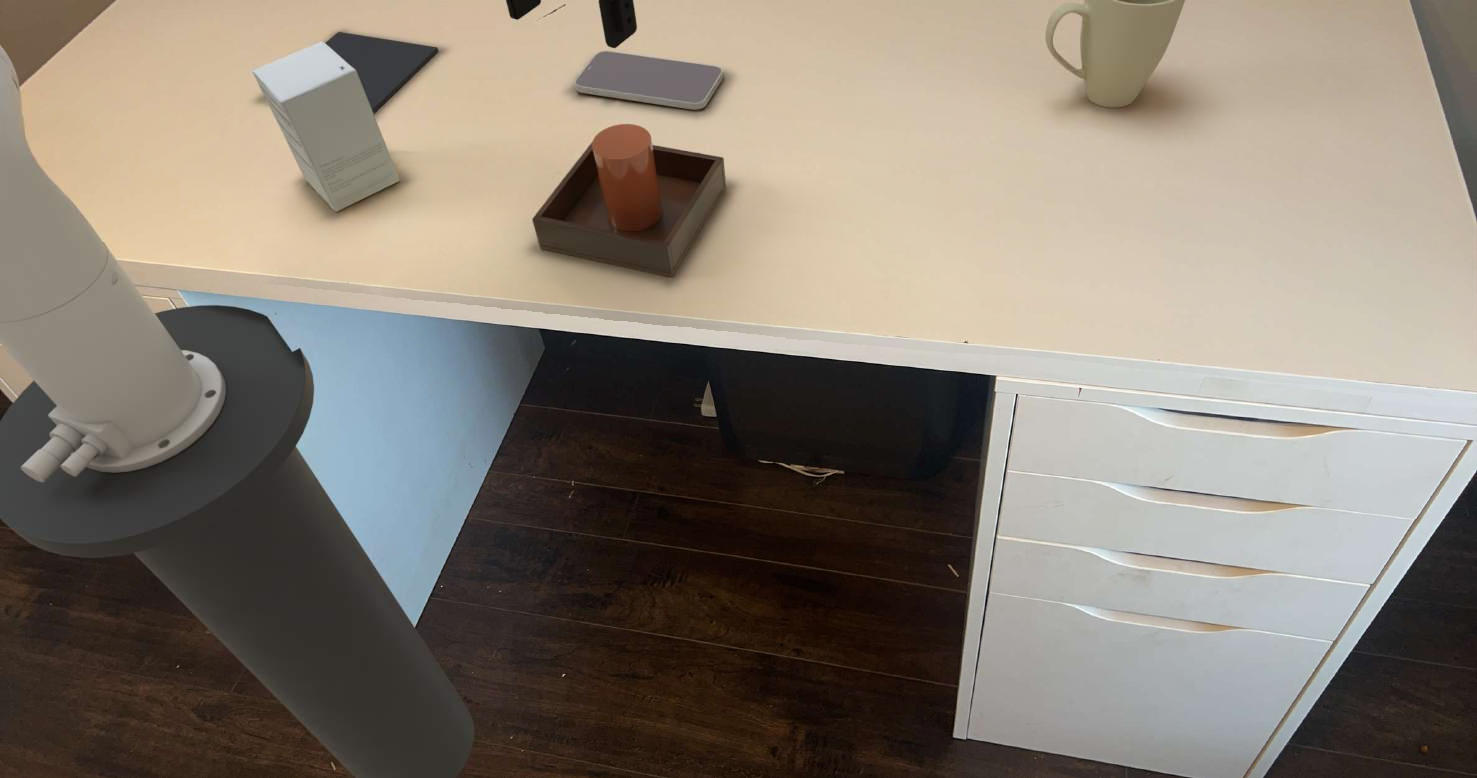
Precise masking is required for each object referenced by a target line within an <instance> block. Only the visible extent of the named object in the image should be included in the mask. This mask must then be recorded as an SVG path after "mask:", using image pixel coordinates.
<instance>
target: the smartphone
mask: <svg viewBox="0 0 1477 778" xmlns="http://www.w3.org/2000/svg"><path fill="white" fill-rule="evenodd" d="M723 73H724V72H723V69H722V67H720V66H718V65H711V64H703V63H698V62H690V61H684V60H675V59H670V58H669V59H668V58H662V57H655V56H649V55H640V54H632V53H625V52H618V51H610V50H602V51H599V52H596V53H595V54H594V55H593V57H592V58H591V59H590V61H589V62H588V63H587V64H586V66H585V67H584V68H583V69H582V71H580V73H579V75H578V76H577V77H576V79H575V80H574V85H575V90H576V91H577V92H579V93H580V94H581V93H582V94H588V95H594V96H600V97H608V98H612V99H613V98H615V99H621V100H627V101H633V102H639V103H646V104H654V105H660V106H666V107H673V108H681V109H687V110H692V111H695V110H696V111H698V110H701V109H704V108H705V107H706V106H707V105H708V103H709V102H710V100H711V99H712V98H713V97H712V96H713V95H714V94H715V93H716V90H717V88H718V87H719V85H720V83H721V82H722V81H723V78H724V75H723Z"/></svg>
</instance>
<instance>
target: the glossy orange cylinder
mask: <svg viewBox="0 0 1477 778" xmlns="http://www.w3.org/2000/svg"><path fill="white" fill-rule="evenodd" d="M592 141H593V142H592ZM592 141H591V143H592V148H593V153H594V158H595V163H596V167H597V172H598V177H599V182H600V187H601V191H602V196H603V201H604V206H605V211H606V215H607V220H608V222H609V223H610V224H611V225H612V226H613V227H615V228H616V229H619V230H623V231H639V230H643V229H646V228H648V227H650V226H652V225H654V224H655V223H656V222H657V221H658V220H659V219H660V217H661V215H662V204H661V198H660V191H659V185H658V178H657V172H656V165H655V159H654V152H653V146H652V145H653V139H652V135H651V133H650V131H649V130H647V129H646V128H645V127H643V126H641V125H638V124H633V123H621V124H620V123H619V124H615V125H611V126H608V127H606V128H604V129H602V130H601V131H599V132H598V133H597V134H596V135H594V138H593V139H592Z"/></svg>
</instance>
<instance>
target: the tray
mask: <svg viewBox="0 0 1477 778" xmlns="http://www.w3.org/2000/svg"><path fill="white" fill-rule="evenodd" d="M592 142H593V140H592V141H591V143H590V144H589V145H588V146H587V148H586V149H585V151H583V153H582V154H581V155H580V157H579V158H578V159H577V160H576V162H575V163H574V164H573V166H572V167H571V168H570V170H569V171H568V172H567V173H566V175H565V176H564V177H563V178H562V179H561V181H560V182H559V184H558V185H557V187H556V188H555V189H554V190H553V191H552V193H551V194H550V195H549V197H548V198H547V199H546V200H545V202H544V203H543V204H542V205H541V207H540V208H539V209H538V211H537V212H536V213H535V215H534V216H533V217H532V218H531V219H532V224H533V227H534V231H535V235H536V238H537V241H538V245H539V249H540V250H545V251H548V252H553V253H557V254H563V255H567V256H571V257H576V258H581V259H586V260H589V261H594V262H600V263H604V264H608V265H612V266H618V267H622V268H626V269H627V268H628V269H631V270H635V271H640V272H645V273H649V274H654V275H659V276H664V277H667V278H673V276H674V275H675V274H676V271H677V270H678V268H679V266H680V265H681V263H682V262H683V260H684V258H685V256H686V254H687V253H688V251H689V250H690V248H691V247H692V245H693V244H694V242H695V240H696V238H697V237H698V235H699V234H700V232H701V231H702V228H703V227H704V225H705V223H706V222H707V220H708V219H709V217H710V215H711V214H712V212H713V210H714V208H716V205H717V204H718V202H719V201H720V199H721V197H722V196H723V194H724V193H725V190H726V189H727V181H726V169H725V159H724V157H723V156H718V155H711V154H706V153H700V152H695V151H691V150H690V151H689V150H683V149H677V148H673V147H666V146H661V145H655V144H652V146H653V152H654V159H655V165H656V172H657V178H658V185H659V191H660V198H661V204H662V215H661V217H660V219H659V220H658V221H657V222H656V223H655V224H654V225H652V226H650V227H648V228H646V229H643V230H639V231H623V230H619V229H616V228H615V227H613V226H612V225H611V224H610V223H609V222H608V220H607V215H606V211H605V206H604V201H603V196H602V191H601V187H600V182H599V177H598V172H597V167H596V163H595V158H594V153H593V148H592Z"/></svg>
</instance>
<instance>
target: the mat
mask: <svg viewBox="0 0 1477 778" xmlns="http://www.w3.org/2000/svg"><path fill="white" fill-rule="evenodd" d="M324 43H325V44H326V45H328V46H329V47H330V48H331V49H332V50H333V51H334V52H335V53H337V54H338V55H339V56H340V57H341V58H342V59H343V60H344V61H346V62H347V63H348V64H349V65H350V66H352V67H353V68H354V69H355V70H356V71H357V74H358V76H359V79H360V81H361V84H362V86H363V89H364V91H365V94H366V96H367V99H368V101H369V104H370V106H371V109H372V111H373V114H374V115H375V113H376V112H377V111H378V110H380V108H381V107H382V106H383V105H384V104H385V103H387V101H388V100H390V99H391V98H392V97H393V95H395V94H396V93H397V92H398V91H399V90H400V89H401V88H402V87H403V86H404V85H405V84H406V83H407V82H408V81H409V80H411V78H412V77H414V75H416V73H417V72H419V71H420V70H421V68H422V67H424V66H425V65H426V64H427V63H428V62H429V61H430V60H431V59H432V58H433V57H434V56H435V55H436V54H437V53H439V48H438V47H437V46H432V45H424V44H419V43H413V42H406V41H400V40H393V39H387V38H380V37H374V36H368V35H362V34H357V33H349V32H343V31H337V32H336V33H335V34H334V35H333V36H331V37H330V38H329V39H328V40H327V41H325V42H324Z"/></svg>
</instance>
